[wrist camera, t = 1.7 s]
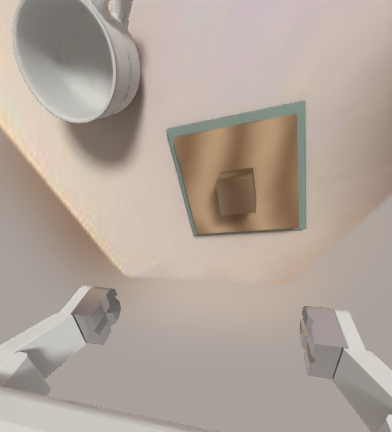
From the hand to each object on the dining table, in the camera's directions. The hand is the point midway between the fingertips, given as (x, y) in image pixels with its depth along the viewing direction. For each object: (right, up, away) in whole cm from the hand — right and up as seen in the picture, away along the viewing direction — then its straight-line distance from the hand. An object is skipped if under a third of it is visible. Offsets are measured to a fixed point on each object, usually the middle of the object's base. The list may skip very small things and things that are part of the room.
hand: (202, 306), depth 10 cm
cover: (+5, +8, +21) cm, 23 cm away
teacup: (-9, +23, +18) cm, 30 cm away
